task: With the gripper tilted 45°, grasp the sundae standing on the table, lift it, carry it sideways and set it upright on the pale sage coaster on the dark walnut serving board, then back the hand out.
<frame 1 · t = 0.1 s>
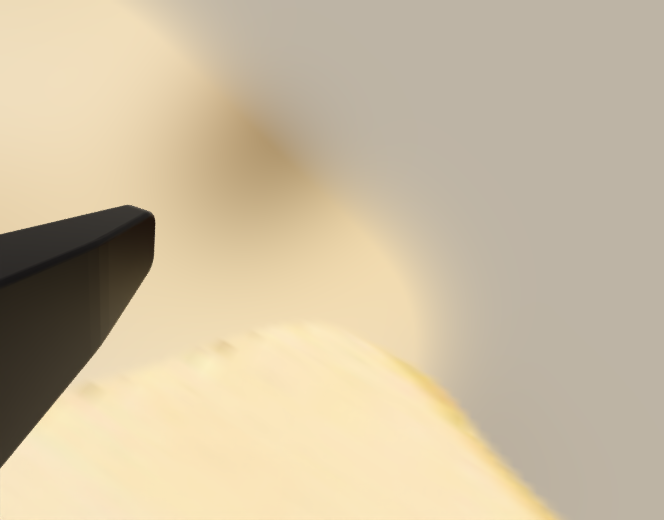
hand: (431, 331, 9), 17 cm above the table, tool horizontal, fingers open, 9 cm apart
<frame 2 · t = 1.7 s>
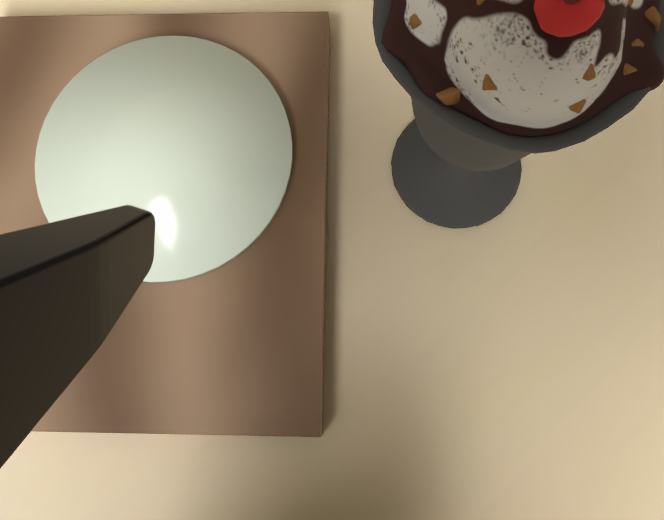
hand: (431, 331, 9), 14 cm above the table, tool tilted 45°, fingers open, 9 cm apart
coaster: (165, 157, 23), resting on serving board
sundae: (456, 169, 24), on the table
serving board: (146, 217, 24), on the table
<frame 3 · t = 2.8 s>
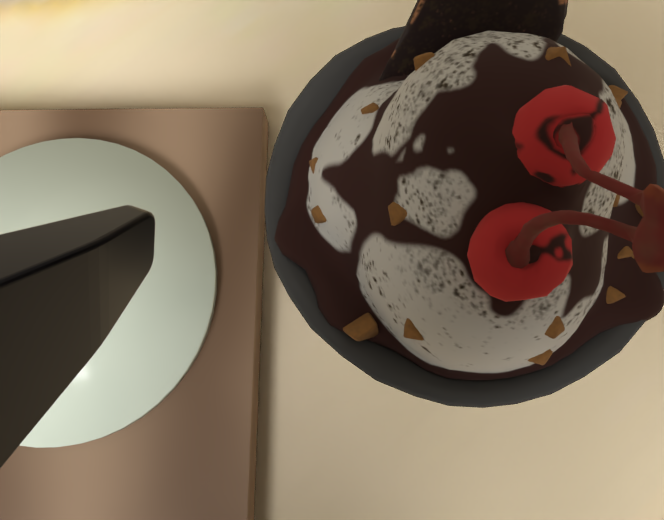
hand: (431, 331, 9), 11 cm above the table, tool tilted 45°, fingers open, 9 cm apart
coaster: (65, 286, 19), resting on serving board
sundae: (415, 295, 20), on the table
serving board: (46, 353, 20), on the table
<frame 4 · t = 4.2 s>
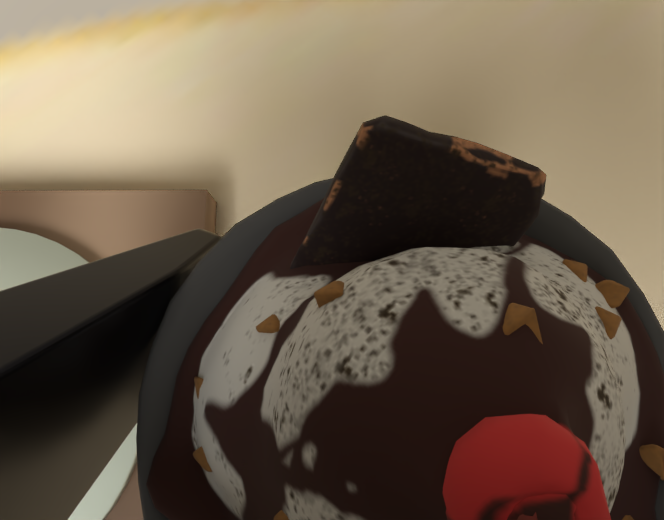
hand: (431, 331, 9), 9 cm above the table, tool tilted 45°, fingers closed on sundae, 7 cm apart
sundae: (382, 407, 17), on the table, touching gripper
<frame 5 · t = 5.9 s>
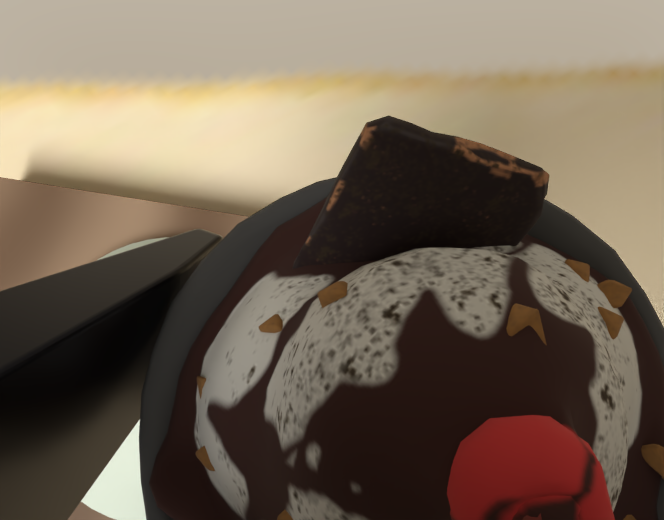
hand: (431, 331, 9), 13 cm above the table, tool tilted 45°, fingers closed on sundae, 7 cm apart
coaster: (168, 375, 21), resting on serving board
sundae: (382, 405, 17), point 4 cm above the table, touching gripper
serving board: (139, 426, 22), on the table
when the fingers open (11 cm above the table, at t = 8.0 s): sundae drops 1 cm, resting on coaster.
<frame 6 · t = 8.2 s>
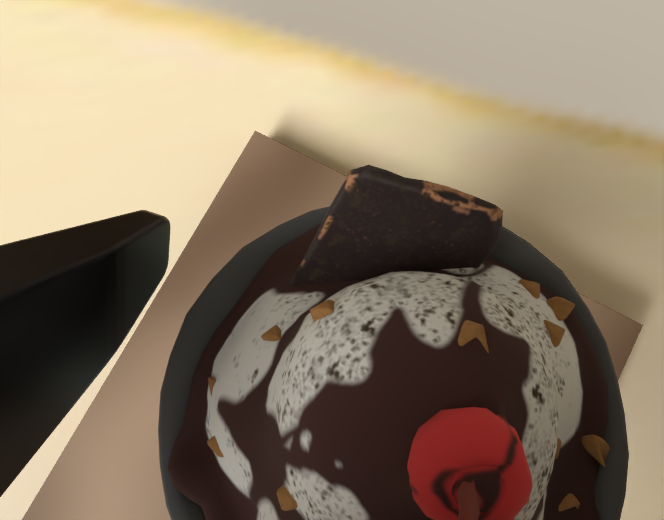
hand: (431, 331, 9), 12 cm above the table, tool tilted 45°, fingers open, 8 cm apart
sundae: (372, 404, 19), point 1 cm above the table, touching coaster
serving board: (323, 443, 20), on the table
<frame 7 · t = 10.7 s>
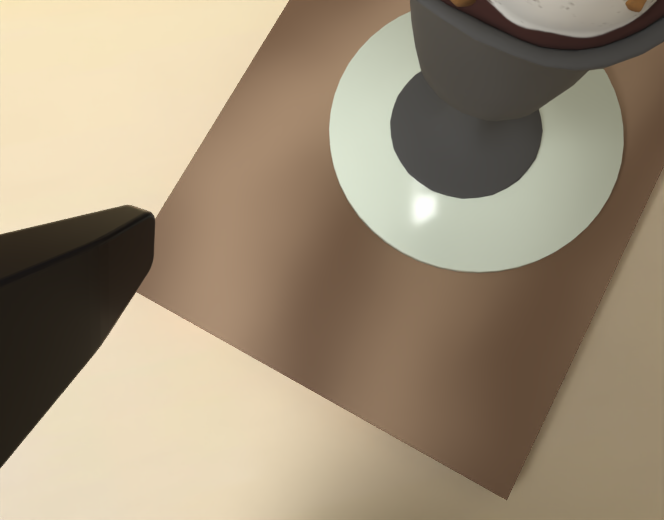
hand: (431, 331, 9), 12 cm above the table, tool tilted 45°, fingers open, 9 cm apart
coaster: (472, 132, 21), resting on serving board
sundae: (465, 131, 20), point 1 cm above the table, touching coaster
serving board: (415, 181, 22), on the table
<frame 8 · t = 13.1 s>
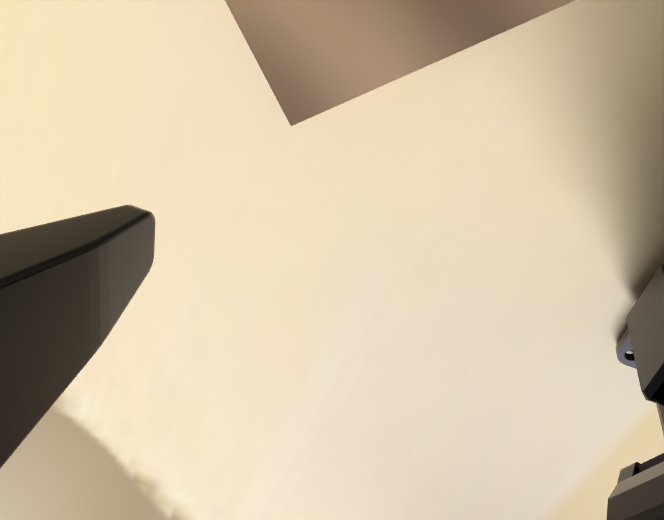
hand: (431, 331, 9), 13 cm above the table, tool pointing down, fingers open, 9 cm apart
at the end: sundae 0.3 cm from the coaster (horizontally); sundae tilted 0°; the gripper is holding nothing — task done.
